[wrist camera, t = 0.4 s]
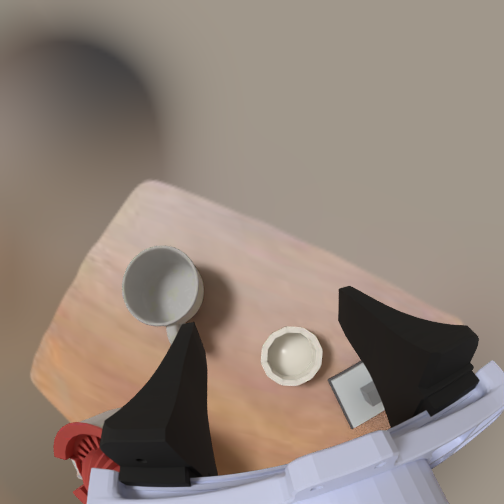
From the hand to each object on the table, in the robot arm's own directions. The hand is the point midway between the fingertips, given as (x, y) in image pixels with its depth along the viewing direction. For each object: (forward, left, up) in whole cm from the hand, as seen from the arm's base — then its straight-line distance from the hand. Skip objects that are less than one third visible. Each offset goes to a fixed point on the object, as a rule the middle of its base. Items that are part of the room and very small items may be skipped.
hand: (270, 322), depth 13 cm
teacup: (+9, +12, -28) cm, 31 cm away
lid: (-16, -8, -27) cm, 33 cm away
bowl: (-5, 0, -28) cm, 28 cm away
